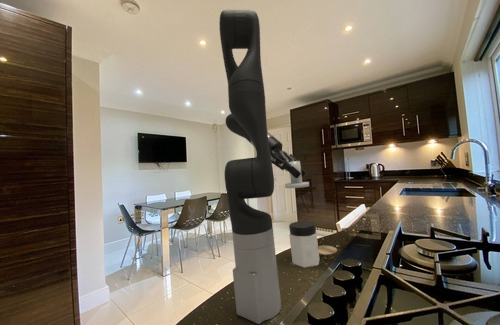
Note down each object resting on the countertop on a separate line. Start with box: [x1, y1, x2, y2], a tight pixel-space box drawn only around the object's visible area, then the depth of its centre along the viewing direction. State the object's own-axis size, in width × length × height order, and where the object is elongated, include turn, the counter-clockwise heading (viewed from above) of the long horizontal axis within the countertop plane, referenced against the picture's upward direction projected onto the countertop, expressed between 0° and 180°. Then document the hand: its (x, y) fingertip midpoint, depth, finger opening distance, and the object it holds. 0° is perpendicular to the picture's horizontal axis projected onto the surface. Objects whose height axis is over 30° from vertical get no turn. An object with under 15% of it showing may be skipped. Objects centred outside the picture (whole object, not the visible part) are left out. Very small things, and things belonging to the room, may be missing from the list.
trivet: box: [318, 245, 338, 255], centre depth 73 cm, size 8×8×1 cm
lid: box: [284, 160, 310, 189], centre depth 67 cm, size 8×8×8 cm
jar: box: [288, 220, 320, 268], centre depth 66 cm, size 9×8×12 cm
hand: (301, 175), depth 66 cm, fingers closed on lid, 3 cm apart
